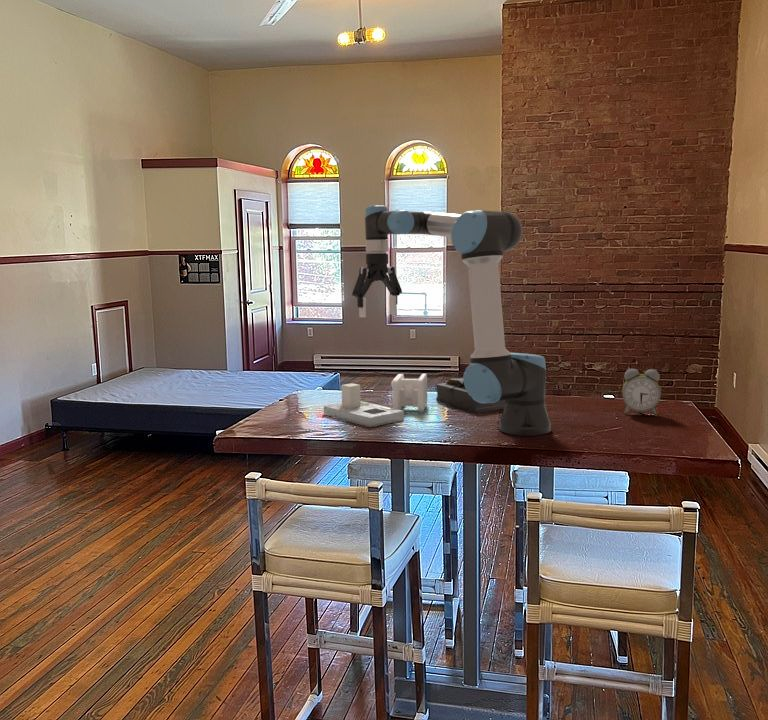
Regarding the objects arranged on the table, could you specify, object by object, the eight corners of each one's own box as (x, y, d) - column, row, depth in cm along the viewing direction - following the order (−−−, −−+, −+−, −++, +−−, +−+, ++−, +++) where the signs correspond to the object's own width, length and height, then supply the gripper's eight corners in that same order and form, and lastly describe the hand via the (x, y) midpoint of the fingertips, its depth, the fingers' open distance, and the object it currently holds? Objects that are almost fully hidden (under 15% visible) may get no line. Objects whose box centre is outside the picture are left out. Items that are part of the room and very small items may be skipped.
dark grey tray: (462, 415, 241) (462, 385, 239) (431, 399, 266) (431, 373, 265) (525, 409, 248) (525, 380, 247) (489, 394, 273) (489, 368, 272)
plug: (360, 414, 242) (360, 384, 241) (350, 416, 239) (349, 386, 238) (350, 411, 247) (349, 382, 245) (340, 414, 244) (339, 384, 242)
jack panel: (403, 419, 234) (403, 410, 233) (370, 427, 225) (370, 417, 224) (356, 408, 252) (356, 399, 251) (323, 414, 243) (323, 405, 242)
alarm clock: (621, 415, 235) (623, 369, 233) (621, 411, 242) (622, 366, 239) (660, 417, 232) (662, 370, 229) (659, 413, 238) (660, 367, 236)
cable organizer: (422, 414, 241) (422, 380, 239) (391, 414, 242) (390, 379, 241) (427, 405, 255) (427, 372, 254) (397, 404, 257) (397, 372, 255)
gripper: (397, 252, 256) (397, 312, 259) (340, 253, 240) (342, 317, 243) (411, 252, 250) (412, 313, 254) (355, 253, 234) (356, 319, 237)
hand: (378, 316), depth 248 cm, fingers open, 13 cm apart
